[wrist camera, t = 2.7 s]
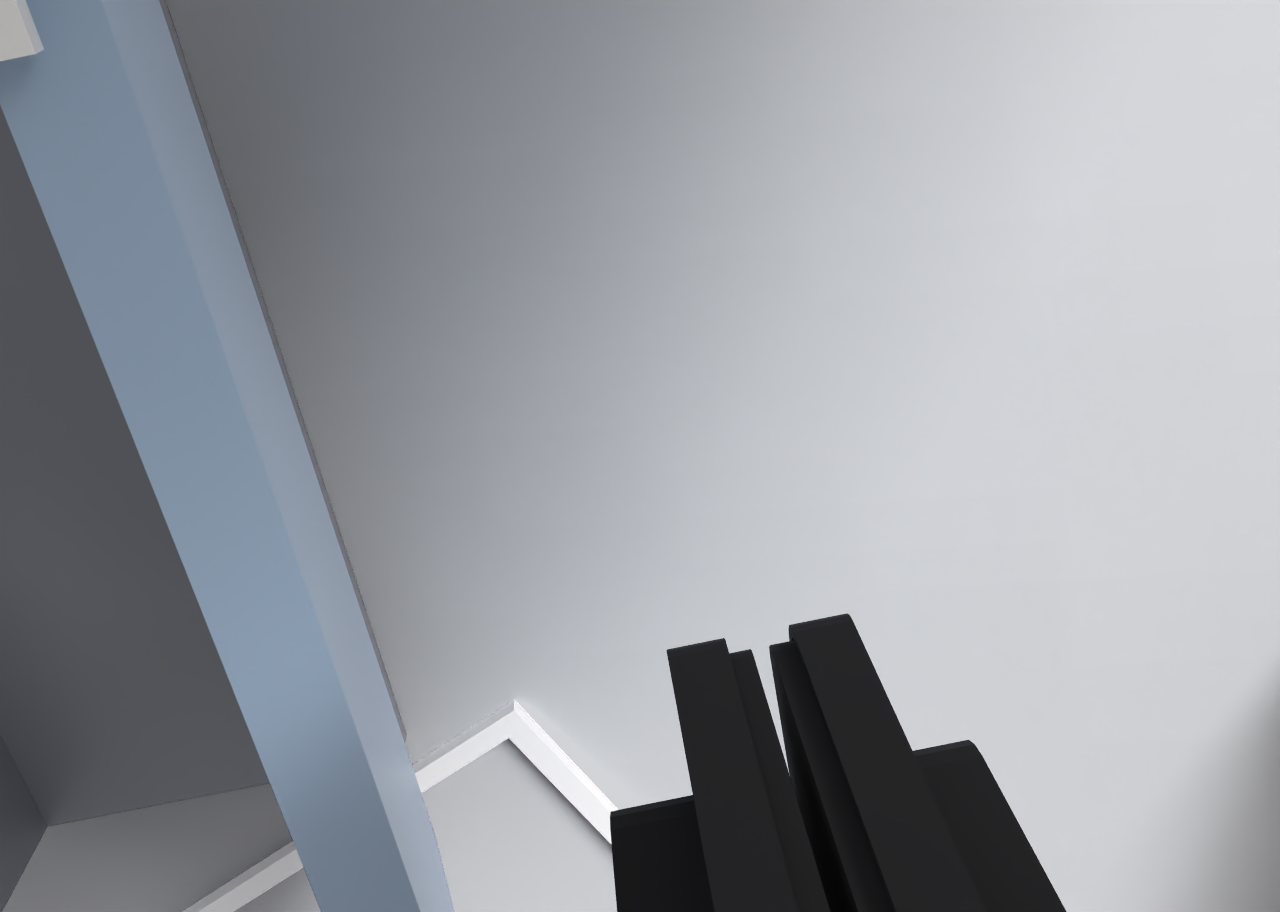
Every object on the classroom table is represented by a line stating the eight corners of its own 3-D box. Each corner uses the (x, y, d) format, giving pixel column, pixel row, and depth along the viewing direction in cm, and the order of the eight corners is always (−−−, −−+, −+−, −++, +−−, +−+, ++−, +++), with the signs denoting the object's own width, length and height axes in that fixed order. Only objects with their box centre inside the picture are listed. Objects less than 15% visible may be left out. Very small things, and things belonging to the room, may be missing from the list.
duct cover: (-630, -950, 8) (-250, -964, 8) (-141, -423, 18) (12, -443, 19) (420, 1378, 19) (556, 1315, 19) (346, 867, 29) (435, 835, 30)
